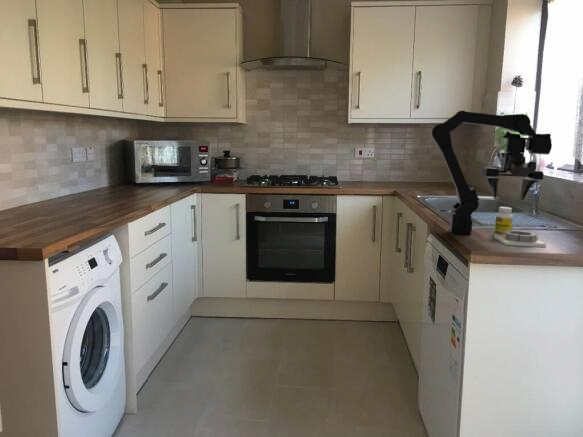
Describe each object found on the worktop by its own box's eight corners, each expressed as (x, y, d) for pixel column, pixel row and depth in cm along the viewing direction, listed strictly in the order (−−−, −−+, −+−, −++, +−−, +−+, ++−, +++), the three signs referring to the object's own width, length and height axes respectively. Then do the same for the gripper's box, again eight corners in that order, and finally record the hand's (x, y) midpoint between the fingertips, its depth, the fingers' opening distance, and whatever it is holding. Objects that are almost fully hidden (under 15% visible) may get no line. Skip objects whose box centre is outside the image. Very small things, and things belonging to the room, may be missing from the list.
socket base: (505, 244, 147) (506, 235, 146) (494, 237, 157) (495, 228, 157) (545, 247, 145) (546, 237, 145) (531, 239, 156) (532, 230, 156)
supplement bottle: (491, 235, 161) (494, 207, 159) (496, 233, 165) (499, 205, 163) (508, 238, 158) (511, 209, 156) (512, 235, 162) (515, 207, 160)
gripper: (495, 151, 149) (489, 200, 152) (555, 155, 148) (547, 204, 151) (483, 150, 160) (477, 196, 163) (538, 154, 159) (532, 199, 162)
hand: (508, 198), depth 159 cm, fingers open, 9 cm apart
